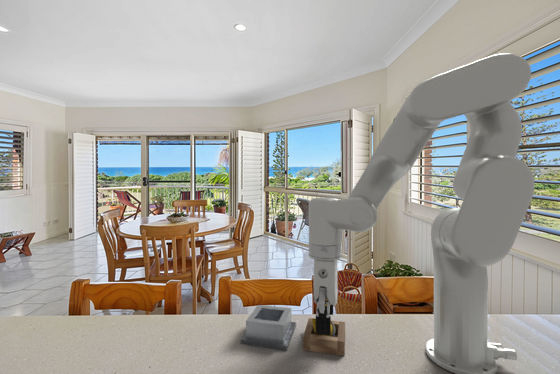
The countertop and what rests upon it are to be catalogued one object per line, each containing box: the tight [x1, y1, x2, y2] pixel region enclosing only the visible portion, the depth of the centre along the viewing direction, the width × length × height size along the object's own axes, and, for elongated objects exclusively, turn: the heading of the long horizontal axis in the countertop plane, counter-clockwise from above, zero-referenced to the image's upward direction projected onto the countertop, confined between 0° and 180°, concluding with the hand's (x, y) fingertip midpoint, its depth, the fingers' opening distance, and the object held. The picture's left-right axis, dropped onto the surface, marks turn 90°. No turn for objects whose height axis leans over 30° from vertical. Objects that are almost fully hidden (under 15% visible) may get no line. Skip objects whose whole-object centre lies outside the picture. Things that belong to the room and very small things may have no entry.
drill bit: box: [312, 317, 336, 337], centre depth 66 cm, size 5×5×10 cm
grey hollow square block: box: [239, 304, 297, 351], centre depth 69 cm, size 11×11×5 cm
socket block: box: [302, 317, 346, 357], centre depth 66 cm, size 9×9×3 cm
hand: (325, 323), depth 66 cm, fingers open, 9 cm apart
